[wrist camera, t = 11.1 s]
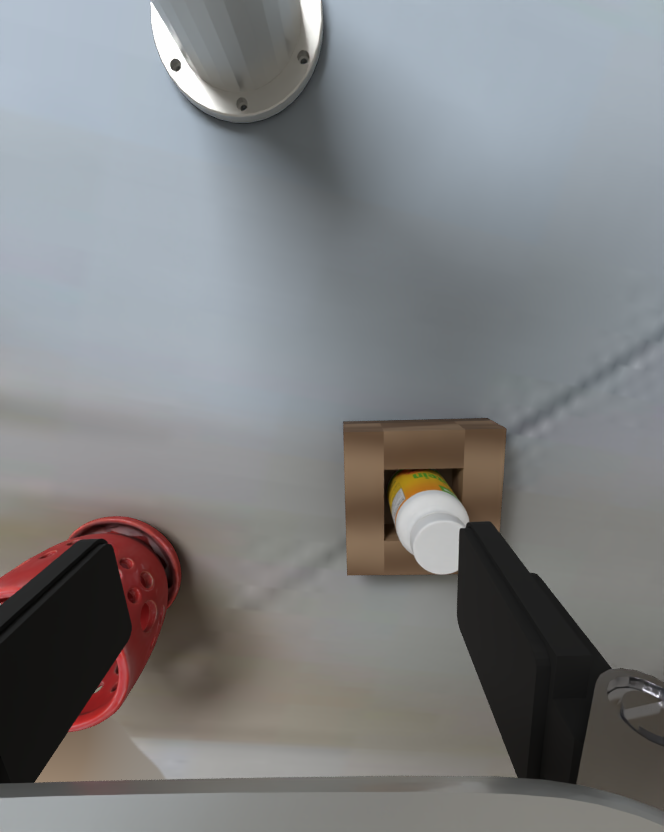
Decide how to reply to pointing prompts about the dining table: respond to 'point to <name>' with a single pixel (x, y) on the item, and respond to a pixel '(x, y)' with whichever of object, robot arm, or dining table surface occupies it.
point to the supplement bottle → (427, 518)
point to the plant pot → (144, 591)
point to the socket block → (415, 449)
